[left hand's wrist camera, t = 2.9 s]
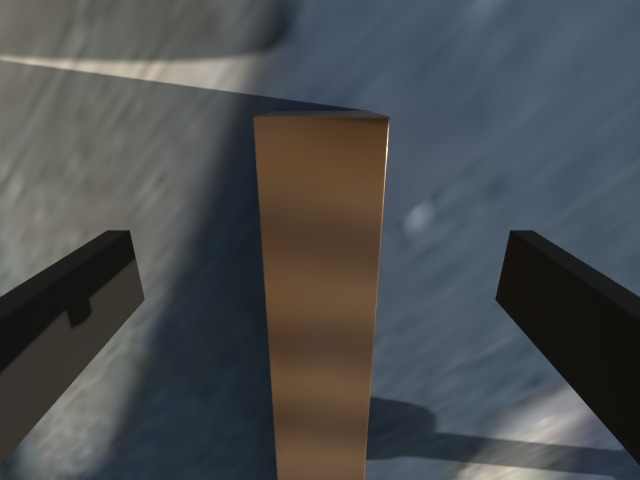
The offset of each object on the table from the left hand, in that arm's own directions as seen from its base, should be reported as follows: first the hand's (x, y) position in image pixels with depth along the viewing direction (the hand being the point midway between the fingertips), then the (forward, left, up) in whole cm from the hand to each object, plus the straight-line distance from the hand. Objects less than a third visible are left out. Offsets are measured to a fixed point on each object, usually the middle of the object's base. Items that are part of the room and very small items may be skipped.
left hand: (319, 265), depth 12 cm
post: (+21, +23, -12) cm, 34 cm away
